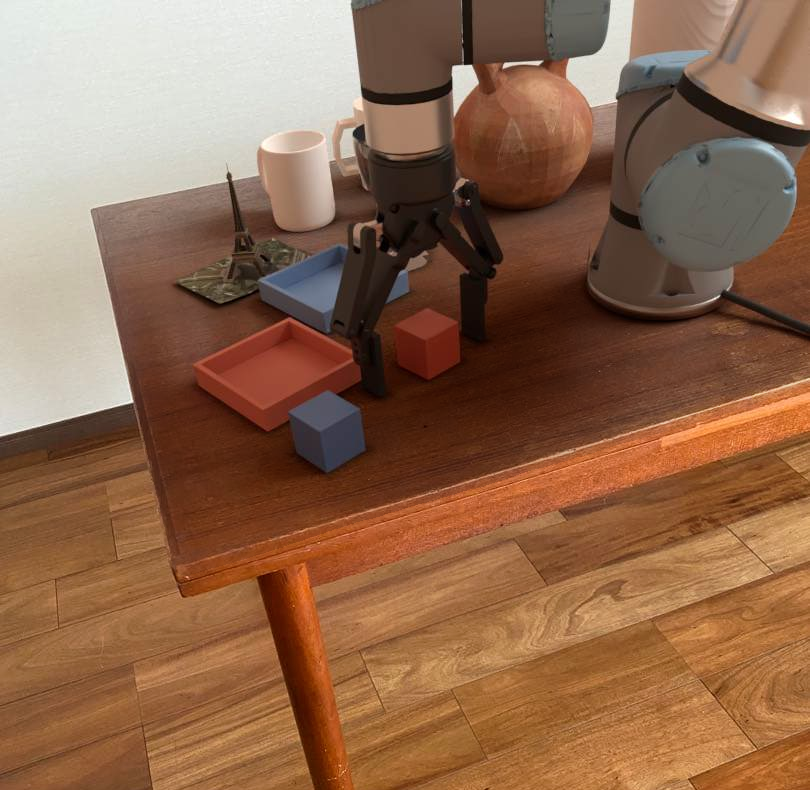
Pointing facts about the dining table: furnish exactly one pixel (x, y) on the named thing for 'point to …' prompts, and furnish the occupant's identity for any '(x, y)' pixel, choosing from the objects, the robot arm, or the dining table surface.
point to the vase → (677, 25)
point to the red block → (427, 343)
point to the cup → (297, 179)
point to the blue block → (327, 431)
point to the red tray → (277, 372)
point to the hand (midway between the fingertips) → (425, 363)
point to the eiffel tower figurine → (241, 262)
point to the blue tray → (314, 287)
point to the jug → (522, 134)
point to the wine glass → (362, 162)
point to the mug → (337, 136)
